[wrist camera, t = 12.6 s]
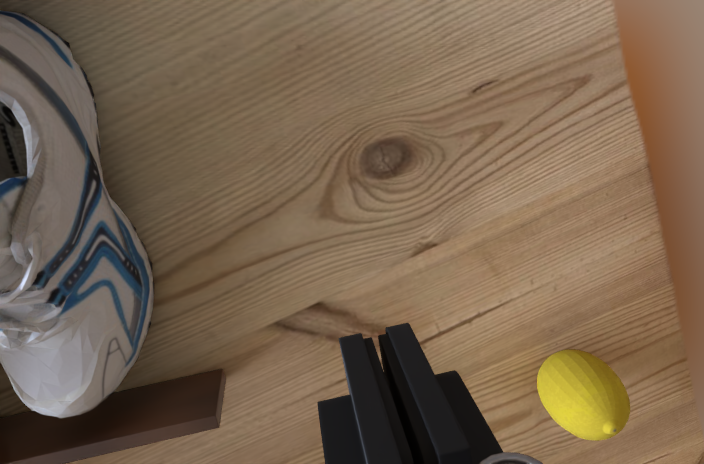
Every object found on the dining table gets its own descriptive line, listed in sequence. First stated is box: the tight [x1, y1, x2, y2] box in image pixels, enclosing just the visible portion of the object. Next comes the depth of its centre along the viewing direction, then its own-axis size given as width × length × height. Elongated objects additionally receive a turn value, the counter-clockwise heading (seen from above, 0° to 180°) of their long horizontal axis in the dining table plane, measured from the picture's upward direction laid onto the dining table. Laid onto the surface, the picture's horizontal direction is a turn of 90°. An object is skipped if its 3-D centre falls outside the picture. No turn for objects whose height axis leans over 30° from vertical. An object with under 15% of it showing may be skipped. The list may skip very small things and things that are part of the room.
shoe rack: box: [0, 369, 226, 464], centre depth 28 cm, size 17×28×6 cm, turn 9°
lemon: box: [537, 349, 630, 441], centre depth 37 cm, size 6×6×8 cm
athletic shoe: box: [0, 11, 154, 419], centre depth 27 cm, size 10×23×12 cm, turn 10°
